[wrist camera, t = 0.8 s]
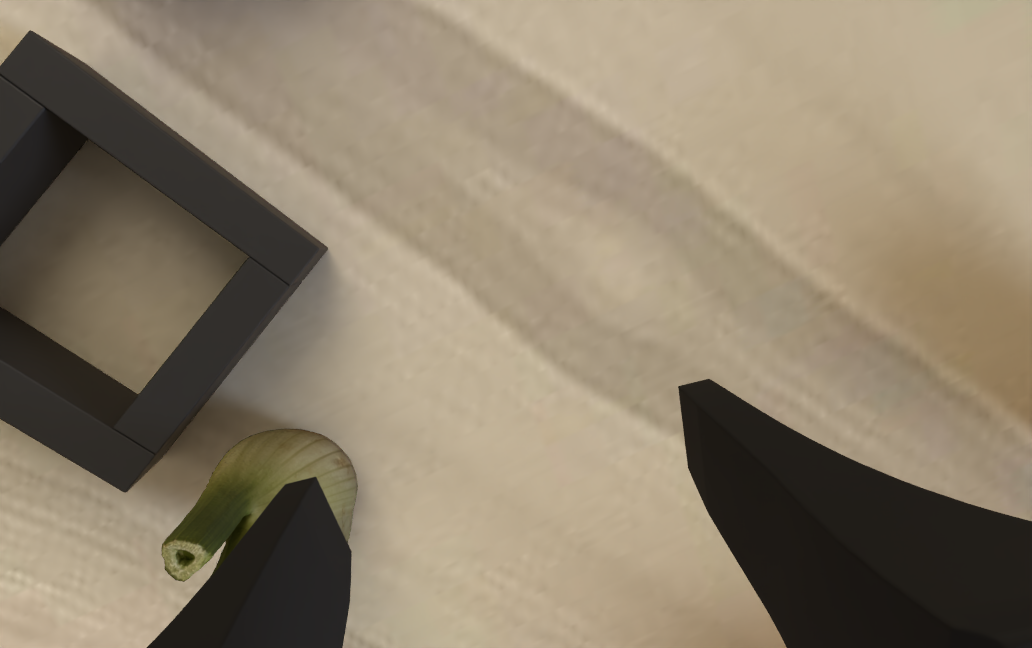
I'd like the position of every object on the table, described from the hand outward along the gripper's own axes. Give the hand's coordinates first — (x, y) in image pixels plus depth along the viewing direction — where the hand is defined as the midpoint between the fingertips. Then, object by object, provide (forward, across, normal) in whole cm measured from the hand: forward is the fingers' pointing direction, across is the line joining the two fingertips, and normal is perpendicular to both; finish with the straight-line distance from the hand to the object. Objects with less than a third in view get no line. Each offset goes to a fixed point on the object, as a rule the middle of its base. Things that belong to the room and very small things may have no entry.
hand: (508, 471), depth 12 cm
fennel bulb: (+14, +10, +9) cm, 19 cm away
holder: (+16, +14, -2) cm, 22 cm away
